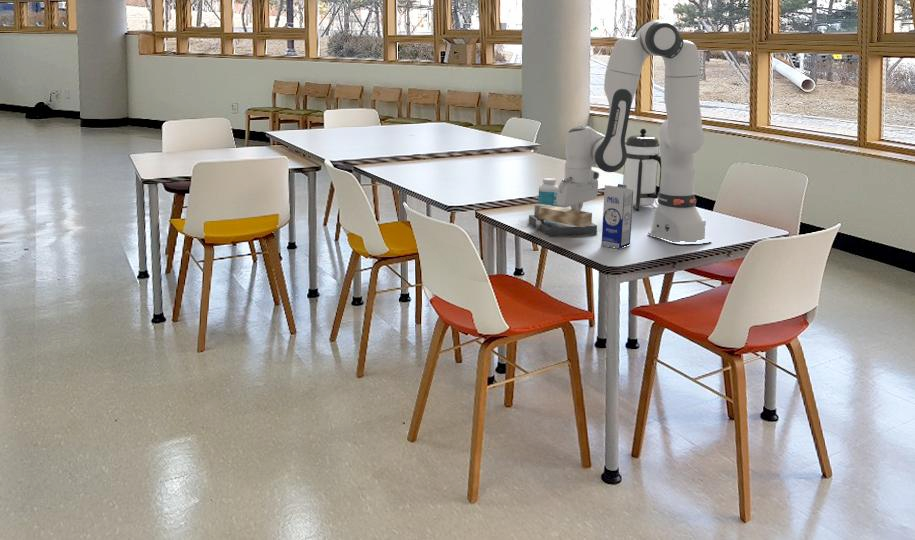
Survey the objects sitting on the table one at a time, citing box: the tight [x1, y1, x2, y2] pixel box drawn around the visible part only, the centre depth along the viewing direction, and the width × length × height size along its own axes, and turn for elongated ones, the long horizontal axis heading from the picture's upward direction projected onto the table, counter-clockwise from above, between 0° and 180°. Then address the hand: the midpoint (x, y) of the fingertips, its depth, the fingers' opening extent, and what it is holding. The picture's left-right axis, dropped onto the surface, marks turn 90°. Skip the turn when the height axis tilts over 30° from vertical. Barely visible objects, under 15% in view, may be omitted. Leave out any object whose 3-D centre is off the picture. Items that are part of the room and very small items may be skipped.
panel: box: [528, 214, 598, 238], centre depth 327 cm, size 20×18×4 cm
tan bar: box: [533, 203, 593, 227], centre depth 319 cm, size 21×5×4 cm, turn 49°
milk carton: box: [600, 183, 634, 249], centre depth 304 cm, size 7×7×20 cm
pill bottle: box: [538, 177, 559, 207], centre depth 347 cm, size 8×7×14 cm
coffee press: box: [622, 128, 661, 212], centre depth 360 cm, size 17×16×30 cm
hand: (576, 216), depth 320 cm, fingers closed
